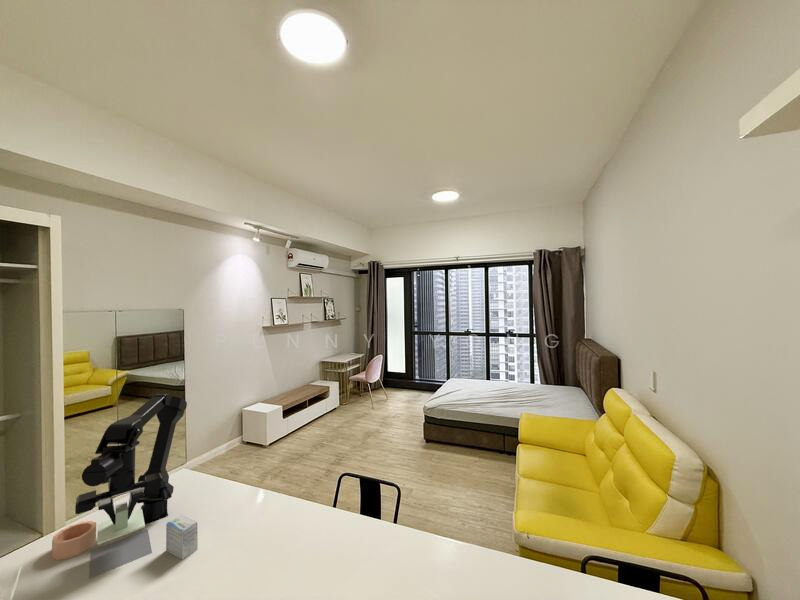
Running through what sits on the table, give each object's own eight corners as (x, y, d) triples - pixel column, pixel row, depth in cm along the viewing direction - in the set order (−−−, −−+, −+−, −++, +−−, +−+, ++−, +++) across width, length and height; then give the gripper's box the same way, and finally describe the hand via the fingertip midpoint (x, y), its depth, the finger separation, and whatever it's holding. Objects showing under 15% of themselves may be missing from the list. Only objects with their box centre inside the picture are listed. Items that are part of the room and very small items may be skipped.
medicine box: (198, 550, 93) (198, 521, 93) (182, 562, 89) (182, 530, 89) (181, 542, 96) (181, 513, 97) (165, 552, 92) (165, 522, 93)
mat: (147, 530, 101) (147, 529, 101) (152, 554, 92) (152, 552, 92) (90, 552, 92) (90, 550, 92) (89, 580, 83) (89, 579, 83)
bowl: (96, 533, 100) (96, 517, 100) (95, 549, 93) (95, 532, 94) (54, 547, 94) (54, 530, 94) (50, 566, 87) (50, 548, 87)
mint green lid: (142, 510, 99) (142, 492, 99) (144, 527, 92) (145, 508, 92) (97, 525, 92) (98, 506, 92) (97, 545, 85) (97, 524, 85)
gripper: (159, 447, 105) (158, 495, 104) (78, 467, 92) (77, 522, 92) (163, 460, 96) (162, 512, 96) (75, 483, 84) (74, 543, 83)
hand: (121, 521), depth 92 cm, fingers closed on mint green lid, 3 cm apart
